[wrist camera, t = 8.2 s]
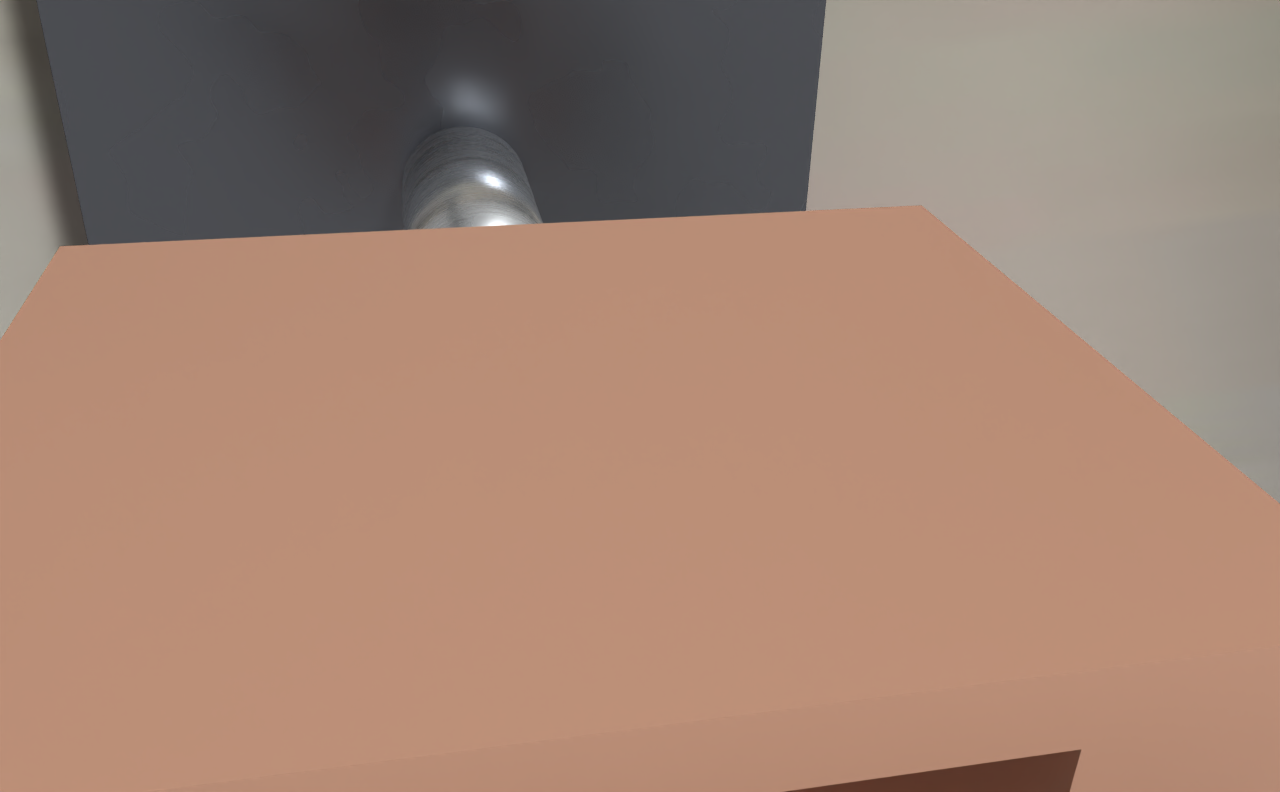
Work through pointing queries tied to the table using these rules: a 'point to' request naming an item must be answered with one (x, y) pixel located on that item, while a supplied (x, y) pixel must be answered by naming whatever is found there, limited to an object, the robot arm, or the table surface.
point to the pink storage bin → (611, 523)
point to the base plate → (429, 112)
